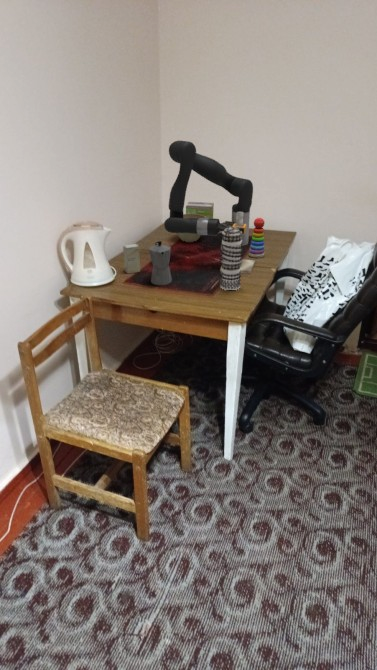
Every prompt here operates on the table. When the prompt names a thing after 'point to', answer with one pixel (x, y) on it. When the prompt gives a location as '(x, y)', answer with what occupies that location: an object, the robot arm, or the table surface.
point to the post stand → (244, 264)
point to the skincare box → (131, 258)
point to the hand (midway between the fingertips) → (244, 229)
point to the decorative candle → (231, 258)
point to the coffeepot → (160, 264)
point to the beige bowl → (189, 236)
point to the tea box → (200, 209)
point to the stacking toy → (257, 239)
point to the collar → (241, 227)
